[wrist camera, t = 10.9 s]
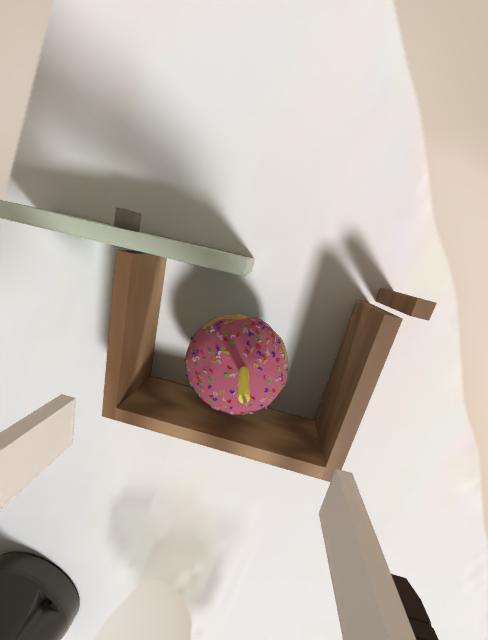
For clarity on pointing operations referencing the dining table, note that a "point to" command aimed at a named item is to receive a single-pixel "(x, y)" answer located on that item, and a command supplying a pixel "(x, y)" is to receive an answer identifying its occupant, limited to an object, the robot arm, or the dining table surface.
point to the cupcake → (237, 364)
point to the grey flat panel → (127, 237)
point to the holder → (259, 427)
